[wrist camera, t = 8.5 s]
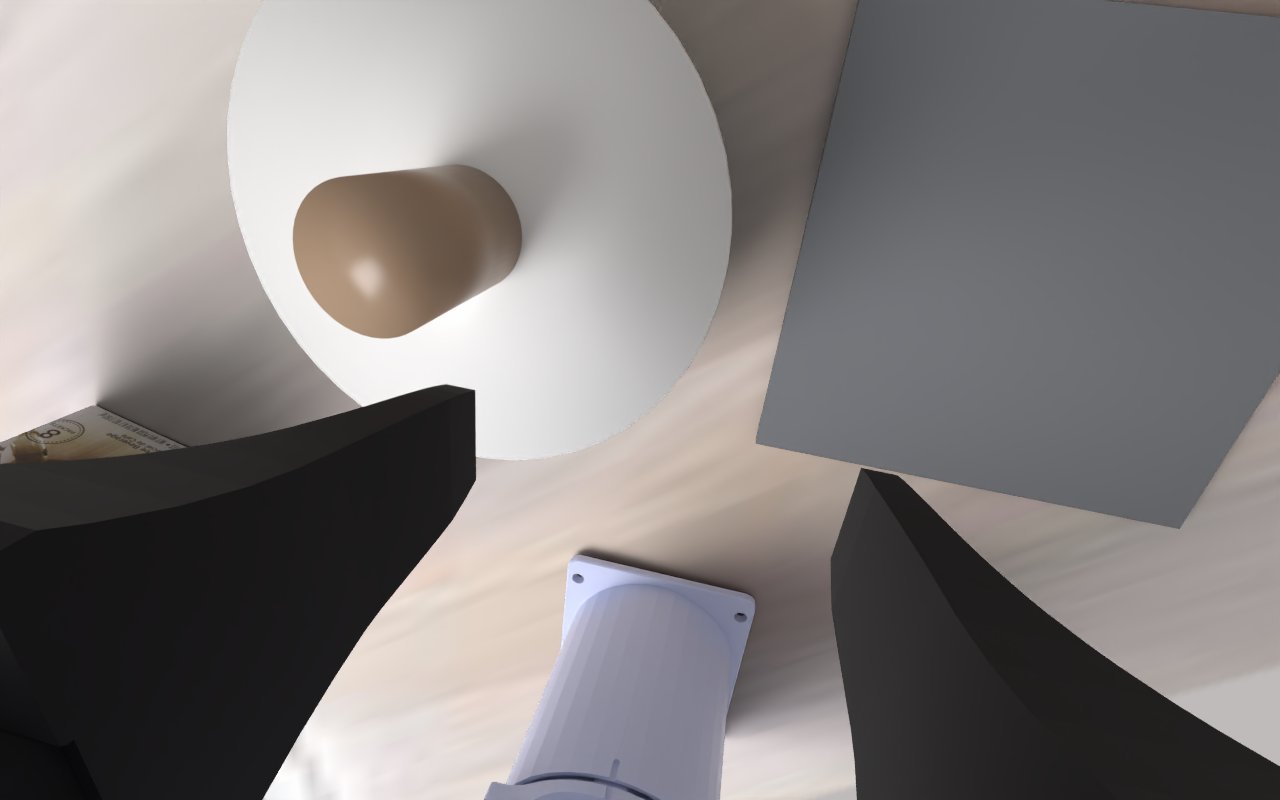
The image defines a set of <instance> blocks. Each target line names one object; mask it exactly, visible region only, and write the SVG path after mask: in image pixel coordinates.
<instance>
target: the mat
mask: <svg viewBox="0 0 1280 800" xmlns="http://www.w3.org/2000/svg"><path fill="white" fill-rule="evenodd" d="M1279 372H1280V17H1272V16H1262V15H1251V14H1241V13H1231V12H1221V11H1210V10H1200V9H1190V8H1180V7H1169V6H1159V5H1149V4H1139V3H1128V2H1118V1H1108V0H858V5H857V9H856V13H855V18H854V22H853V26H852V30H851V35H850V39H849V43H848V47H847V52H846V56H845V60H844V65H843V69H842V73H841V77H840V82H839V86H838V90H837V94H836V99H835V103H834V107H833V112H832V116H831V120H830V124H829V129H828V133H827V137H826V142H825V146H824V150H823V154H822V159H821V163H820V167H819V171H818V176H817V180H816V184H815V189H814V193H813V197H812V201H811V206H810V210H809V214H808V218H807V223H806V227H805V231H804V236H803V240H802V244H801V248H800V253H799V257H798V261H797V265H796V270H795V274H794V278H793V283H792V287H791V291H790V295H789V300H788V304H787V308H786V312H785V317H784V321H783V325H782V330H781V334H780V338H779V342H778V347H777V351H776V355H775V359H774V364H773V368H772V372H771V377H770V381H769V385H768V389H767V394H766V398H765V402H764V406H763V411H762V415H761V419H760V424H759V428H758V432H757V436H756V444H761V445H765V446H770V447H775V448H780V449H785V450H790V451H795V452H800V453H805V454H810V455H815V456H820V457H825V458H830V459H835V460H840V461H845V462H850V463H855V464H860V465H865V466H870V467H875V468H880V469H885V470H890V471H895V472H900V473H905V474H909V475H914V476H919V477H924V478H929V479H934V480H939V481H944V482H949V483H954V484H959V485H964V486H969V487H974V488H979V489H984V490H989V491H994V492H999V493H1004V494H1009V495H1014V496H1019V497H1024V498H1029V499H1034V500H1039V501H1044V502H1048V503H1053V504H1058V505H1063V506H1068V507H1073V508H1078V509H1083V510H1088V511H1093V512H1098V513H1103V514H1108V515H1113V516H1118V517H1123V518H1128V519H1133V520H1138V521H1143V522H1148V523H1153V524H1158V525H1163V526H1168V527H1173V528H1178V529H1180V527H1181V526H1182V524H1183V522H1184V521H1185V519H1186V518H1187V516H1188V515H1189V513H1190V511H1191V510H1192V508H1193V507H1194V505H1195V504H1196V502H1197V500H1198V499H1199V497H1200V496H1201V494H1202V493H1203V491H1204V489H1205V488H1206V486H1207V485H1208V483H1209V482H1210V480H1211V478H1212V477H1213V475H1214V474H1215V472H1216V471H1217V469H1218V467H1219V466H1220V464H1221V463H1222V461H1223V460H1224V458H1225V456H1226V455H1227V453H1228V452H1229V450H1230V449H1231V447H1232V445H1233V444H1234V442H1235V441H1236V439H1237V438H1238V436H1239V434H1240V433H1241V431H1242V430H1243V428H1244V427H1245V425H1246V423H1247V422H1248V420H1249V419H1250V417H1251V416H1252V414H1253V412H1254V411H1255V409H1256V408H1257V406H1258V405H1259V403H1260V401H1261V400H1262V398H1263V397H1264V395H1265V394H1266V392H1267V390H1268V389H1269V387H1270V386H1271V384H1272V383H1273V381H1274V379H1275V378H1276V376H1277V375H1278V373H1279Z"/></svg>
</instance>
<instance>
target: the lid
mask: <svg viewBox="0 0 1280 800" xmlns="http://www.w3.org/2000/svg"><path fill="white" fill-rule="evenodd" d="M227 158H228V167H229V175H230V184H231V192H232V196H233V201H234V205H235V210H236V214H237V219H238V223H239V227H240V230H241V233H242V236H243V239H244V242H245V245H246V248H247V251H248V254H249V257H250V259H251V262H252V264H253V266H254V268H255V271H256V273H257V275H258V277H259V280H260V282H261V284H262V286H263V288H264V290H265V292H266V294H267V295H268V297H269V299H270V301H271V303H272V304H273V306H274V308H275V310H276V311H277V313H278V315H279V317H280V318H281V320H282V321H283V323H284V324H285V325H286V327H287V328H288V330H289V331H290V333H291V334H292V335H293V337H294V338H295V340H296V341H297V343H298V344H299V345H300V346H301V347H302V349H303V350H304V351H305V352H306V353H307V355H308V356H309V357H310V358H311V359H312V361H313V362H314V363H315V364H316V365H317V366H318V368H319V369H321V370H322V371H323V372H324V373H325V374H326V375H327V376H328V377H329V378H330V379H331V380H332V381H333V382H334V383H335V384H336V385H337V386H338V387H339V388H340V389H341V390H342V391H344V392H345V393H346V394H347V395H348V396H350V397H351V398H352V399H353V400H355V401H356V402H357V403H358V404H360V405H361V406H362V407H364V406H368V405H371V404H374V403H377V402H381V401H384V400H387V399H390V398H394V397H397V396H400V395H404V394H407V393H410V392H414V391H417V390H421V389H425V388H429V387H433V386H438V385H444V384H448V385H453V386H458V387H463V388H467V389H472V390H475V405H476V457H482V458H489V459H499V460H530V459H541V458H550V457H555V456H559V455H564V454H568V453H573V452H576V451H579V450H582V449H584V448H587V447H590V446H592V445H595V444H598V443H601V442H602V441H604V440H606V439H608V438H610V437H612V436H614V435H616V434H617V433H619V432H621V431H623V430H625V429H626V428H628V427H629V426H630V425H632V424H633V423H635V422H636V421H637V420H639V419H640V418H641V417H643V416H644V415H646V414H647V413H648V412H649V411H650V410H651V409H652V408H653V407H654V406H656V405H657V404H658V403H659V402H660V401H661V400H662V399H663V398H664V397H665V396H666V395H667V394H668V393H669V392H670V391H671V389H672V388H673V387H674V385H675V384H676V383H677V382H678V380H679V379H680V378H681V376H682V375H683V374H684V372H685V371H686V370H687V369H688V367H689V366H690V364H691V362H692V360H693V359H694V357H695V355H696V353H697V352H698V350H699V348H700V346H701V344H702V343H703V341H704V339H705V337H706V334H707V332H708V329H709V327H710V324H711V322H712V319H713V317H714V314H715V312H716V309H717V307H718V303H719V300H720V296H721V292H722V288H723V284H724V280H725V277H726V273H727V269H728V263H729V255H730V246H731V237H732V190H731V182H730V175H729V168H728V161H727V154H726V150H725V146H724V143H723V139H722V135H721V132H720V128H719V124H718V121H717V117H716V114H715V111H714V109H713V106H712V104H711V102H710V99H709V97H708V94H707V92H706V89H705V87H704V85H703V82H702V80H701V77H700V75H699V73H698V72H697V70H696V68H695V66H694V65H693V63H692V61H691V59H690V58H689V56H688V54H687V52H686V51H685V49H684V47H683V45H682V44H681V42H680V40H679V39H678V37H677V36H676V35H675V33H674V32H673V31H672V29H671V28H670V27H669V26H668V24H667V23H666V22H665V20H664V19H663V18H662V16H661V15H660V14H659V12H658V11H657V10H656V8H655V7H654V6H653V5H652V4H651V3H650V2H649V1H648V0H263V2H262V3H261V5H260V7H259V9H258V10H257V12H256V14H255V16H254V17H253V19H252V22H251V24H250V27H249V29H248V32H247V34H246V37H245V40H244V42H243V45H242V47H241V50H240V52H239V56H238V60H237V65H236V69H235V73H234V77H233V81H232V85H231V92H230V101H229V110H228V119H227Z"/></svg>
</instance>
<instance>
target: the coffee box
mask: <svg viewBox="0 0 1280 800" xmlns="http://www.w3.org/2000/svg"><path fill="white" fill-rule="evenodd" d="M179 448H187V447H186V446H183V445H181V444H179V443H177V442H174V441H172V440H170V439H168V438H166V437H163V436H161V435H159V434H157V433H155V432H152V431H150V430H148V429H146V428H144V427H141V426H139V425H137V424H135V423H133V422H131V421H128V420H126V419H124V418H122V417H120V416H118V415H115V414H113V413H111V412H109V411H107V410H104V409H102V408H100V407H98V406H90V407H87V408H85V409H82V410H80V411H78V412H75V413H72V414H70V415H67V416H65V417H63V418H60V419H58V420H55V421H53V422H50V423H48V424H45V425H42V426H40V427H37V428H35V429H33V430H31V431H28V432H25V433H22V434H20V435H18V436H16V437H13V438H10V439H8V440H6V441H3V442H0V464H20V463H39V462H55V461H69V460H83V459H95V458H106V457H116V456H127V455H136V454H143V453H150V452H158V451H165V450H172V449H179Z"/></svg>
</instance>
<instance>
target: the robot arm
mask: <svg viewBox="0 0 1280 800" xmlns="http://www.w3.org/2000/svg"><path fill="white" fill-rule="evenodd" d="M475 481H476V405H475V390H472V389H467V388H463V387H458V386H453V385H448V384H444V385H438V386H433V387H429V388H425V389H421V390H417V391H414V392H410V393H407V394H404V395H400V396H397V397H394V398H390V399H387V400H384V401H381V402H377V403H374V404H371V405H368V406H364V407H361V408H358V409H355V410H351V411H348V412H345V413H341V414H337V415H334V416H330V417H326V418H323V419H319V420H315V421H312V422H308V423H305V424H301V425H297V426H294V427H290V428H286V429H282V430H277V431H273V432H269V433H264V434H260V435H255V436H250V437H245V438H240V439H235V440H230V441H225V442H219V443H213V444H208V445H201V446H194V447H187V448H179V449H172V450H165V451H158V452H150V453H143V454H136V455H127V456H116V457H106V458H95V459H83V460H69V461H55V462H39V463H20V464H0V800H262V799H263V797H264V796H265V794H266V792H267V790H268V789H269V787H270V785H271V783H272V782H273V780H274V778H275V777H276V775H277V773H278V771H279V770H280V768H281V766H282V764H283V763H284V761H285V759H286V757H287V756H288V754H289V752H290V750H291V749H292V747H293V745H294V743H295V742H296V740H297V738H298V736H299V735H300V733H301V731H302V730H303V728H304V726H305V725H306V723H307V721H308V720H309V718H310V717H311V715H312V713H313V712H314V710H315V708H316V707H317V705H318V703H319V702H320V700H321V699H322V697H323V695H324V694H325V692H326V690H327V689H328V687H329V686H330V684H331V682H332V681H333V679H334V677H335V676H336V674H337V673H338V671H339V670H340V668H341V667H342V665H343V664H344V662H345V661H346V659H347V657H348V656H349V654H350V653H351V651H352V650H353V648H354V647H355V645H356V644H357V642H358V641H359V639H360V637H361V636H362V634H363V633H364V631H365V630H366V629H367V627H368V626H369V625H370V623H371V622H372V620H373V619H374V618H375V616H376V615H377V614H378V612H379V611H380V610H381V608H382V607H383V606H384V605H385V603H386V602H387V601H388V600H389V599H390V597H391V596H392V595H393V594H394V592H395V591H396V590H397V589H398V587H399V586H400V585H401V584H402V583H403V581H404V580H405V579H406V578H407V576H408V575H409V574H410V573H411V571H412V570H413V569H414V568H415V567H416V565H417V564H418V563H419V562H420V560H421V559H422V558H423V557H424V555H425V554H426V553H427V552H428V551H429V549H430V548H431V547H432V545H433V544H434V543H435V542H436V540H437V539H438V538H439V537H440V535H441V534H442V533H443V532H444V530H445V529H446V528H447V527H448V525H449V524H450V523H451V521H452V520H453V518H454V517H455V515H456V513H457V512H458V510H459V508H460V507H461V505H462V504H463V502H464V500H465V498H466V497H467V495H468V493H469V491H470V489H471V488H472V486H473V484H474V482H475ZM576 574H580V575H582V576H583V577H579V576H577V575H576ZM831 599H832V614H833V621H834V627H835V634H836V640H837V647H838V653H839V659H840V665H841V671H842V677H843V683H844V690H845V696H846V702H847V708H848V714H849V720H850V726H851V733H852V742H853V750H854V759H855V774H856V791H857V800H1280V766H1278V765H1276V764H1275V763H1273V762H1271V761H1270V760H1268V759H1266V758H1264V757H1262V756H1261V755H1259V754H1258V753H1256V752H1254V751H1253V750H1250V749H1249V748H1247V747H1246V746H1244V745H1242V744H1241V743H1239V742H1237V741H1235V740H1233V739H1232V738H1230V737H1228V736H1227V735H1225V734H1223V733H1222V732H1220V731H1218V730H1217V729H1215V728H1213V727H1212V726H1210V725H1208V724H1207V723H1205V722H1204V721H1202V720H1200V719H1199V718H1197V717H1196V716H1194V715H1192V714H1191V713H1189V712H1188V711H1186V710H1184V709H1183V708H1181V707H1179V706H1178V705H1176V704H1175V703H1173V702H1172V701H1170V700H1169V699H1167V698H1166V697H1164V696H1163V695H1161V694H1160V693H1158V692H1157V691H1155V690H1154V689H1152V688H1151V687H1149V686H1148V685H1146V684H1145V683H1143V682H1141V681H1140V680H1138V679H1137V678H1135V677H1134V676H1132V675H1131V674H1129V673H1128V672H1126V671H1125V670H1123V669H1122V668H1120V667H1119V666H1117V665H1116V664H1115V663H1113V662H1112V661H1110V660H1109V659H1108V658H1106V657H1105V656H1103V655H1102V654H1100V653H1099V652H1098V651H1096V650H1095V649H1093V648H1092V647H1091V646H1089V645H1088V644H1087V643H1085V642H1084V641H1083V640H1081V639H1080V638H1079V637H1077V636H1076V635H1075V634H1073V633H1072V632H1071V631H1070V630H1068V629H1067V628H1066V627H1064V626H1063V625H1062V624H1060V623H1059V622H1058V621H1056V620H1055V619H1054V618H1053V617H1051V616H1050V615H1049V614H1047V613H1046V612H1045V611H1043V610H1042V609H1041V608H1040V607H1039V606H1037V605H1036V604H1035V603H1034V602H1032V601H1031V600H1030V599H1029V598H1028V597H1026V596H1025V595H1024V594H1023V593H1022V592H1021V591H1019V590H1018V589H1017V588H1016V587H1015V586H1014V585H1013V584H1011V583H1010V582H1009V581H1008V580H1007V579H1006V578H1005V577H1003V576H1002V575H1001V574H1000V573H999V572H998V571H997V570H995V569H994V568H993V567H992V566H991V565H990V564H989V563H988V562H987V561H986V560H985V559H983V558H982V557H981V556H980V555H979V554H978V553H977V552H976V551H975V550H974V549H973V548H972V547H971V546H970V545H969V544H968V543H967V542H965V541H964V540H963V539H962V538H961V537H960V536H959V535H958V534H957V533H956V532H955V531H954V530H953V529H952V528H951V527H950V526H949V525H948V524H947V523H946V522H945V521H944V520H943V519H942V518H941V517H940V516H939V515H938V514H937V513H936V512H935V511H934V510H933V509H932V508H931V507H930V506H929V505H928V504H927V503H926V502H925V501H924V500H923V499H922V498H921V497H920V496H919V495H918V494H917V493H916V492H915V491H914V490H913V489H912V488H911V487H910V486H909V485H908V484H907V483H906V482H905V481H903V480H902V479H901V478H900V477H899V476H897V475H893V474H888V473H883V472H878V471H873V470H868V469H863V468H861V470H860V473H859V476H858V479H857V482H856V485H855V488H854V491H853V494H852V497H851V500H850V503H849V506H848V509H847V512H846V515H845V518H844V521H843V524H842V527H841V530H840V533H839V536H838V539H837V542H836V545H835V548H834V551H833V554H832V557H831ZM737 613H743V614H745V615H743V616H740V615H738V614H737ZM754 613H755V600H754V598H753V597H751V596H750V595H748V594H745V593H741V592H737V591H733V590H728V589H724V588H720V587H715V586H711V585H707V584H703V583H698V582H694V581H690V580H686V579H681V578H677V577H673V576H669V575H664V574H660V573H656V572H652V571H647V570H643V569H639V568H634V567H630V566H626V565H622V564H617V563H613V562H609V561H605V560H600V559H596V558H592V557H588V556H583V555H576V556H573V557H572V558H571V560H570V562H569V565H568V572H567V583H566V595H565V607H564V618H563V630H562V642H561V650H560V652H559V655H558V657H557V660H556V662H555V665H554V667H553V670H552V672H551V674H550V677H549V679H548V682H547V684H546V687H545V689H544V692H543V694H542V697H541V699H540V701H539V704H538V706H537V709H536V711H535V714H534V716H533V719H532V721H531V724H530V726H529V728H528V731H527V733H526V736H525V738H524V741H523V743H522V746H521V748H520V751H519V753H518V755H517V758H516V760H515V763H514V765H513V768H512V770H511V773H510V775H509V778H508V780H507V782H506V784H502V783H498V782H492V783H491V785H490V787H489V789H488V791H487V794H486V796H485V798H484V800H720V789H721V777H722V764H723V751H724V739H725V726H726V716H727V712H728V708H729V705H730V701H731V697H732V694H733V690H734V686H735V683H736V679H737V675H738V672H739V668H740V664H741V661H742V657H743V653H744V650H745V646H746V642H747V639H748V635H749V631H750V628H751V624H752V620H753V617H754Z"/></svg>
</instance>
